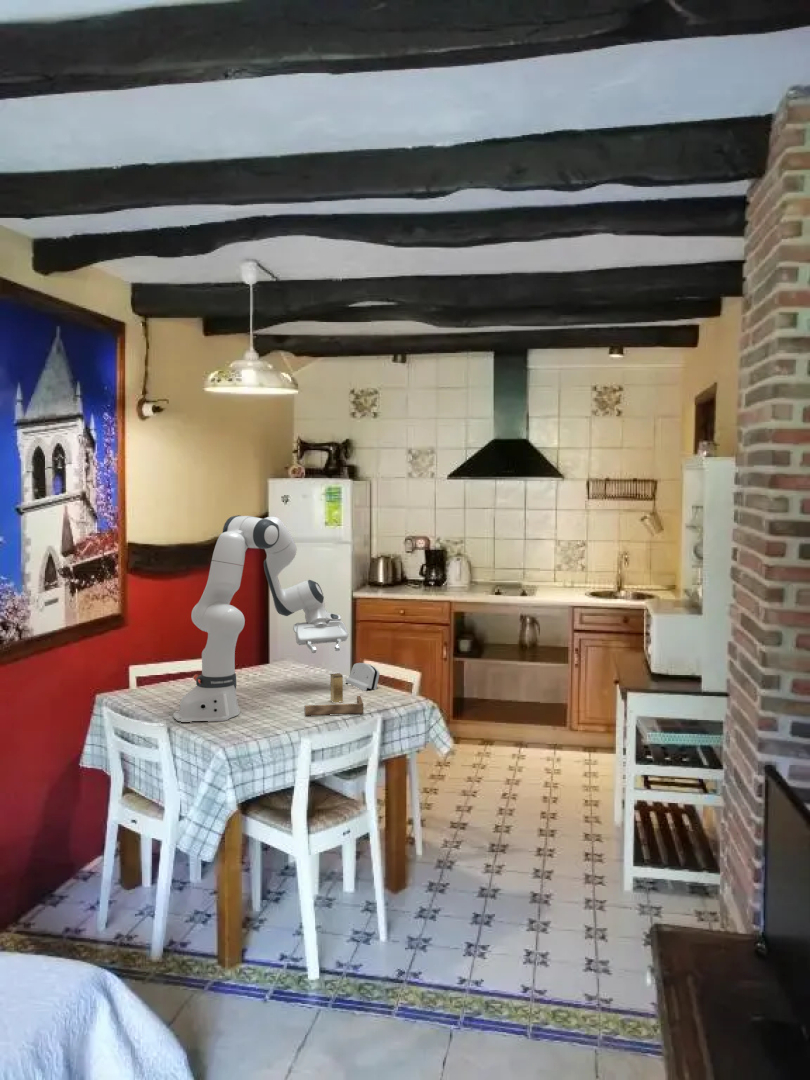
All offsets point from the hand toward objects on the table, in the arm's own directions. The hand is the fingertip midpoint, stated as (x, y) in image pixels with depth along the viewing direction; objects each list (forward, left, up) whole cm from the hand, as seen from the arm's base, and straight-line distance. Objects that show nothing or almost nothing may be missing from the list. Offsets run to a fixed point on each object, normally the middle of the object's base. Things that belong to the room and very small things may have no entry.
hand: (326, 651), depth 330 cm
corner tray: (-5, -24, -16) cm, 30 cm away
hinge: (+17, +7, -17) cm, 25 cm away
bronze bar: (0, -12, -16) cm, 21 cm away
